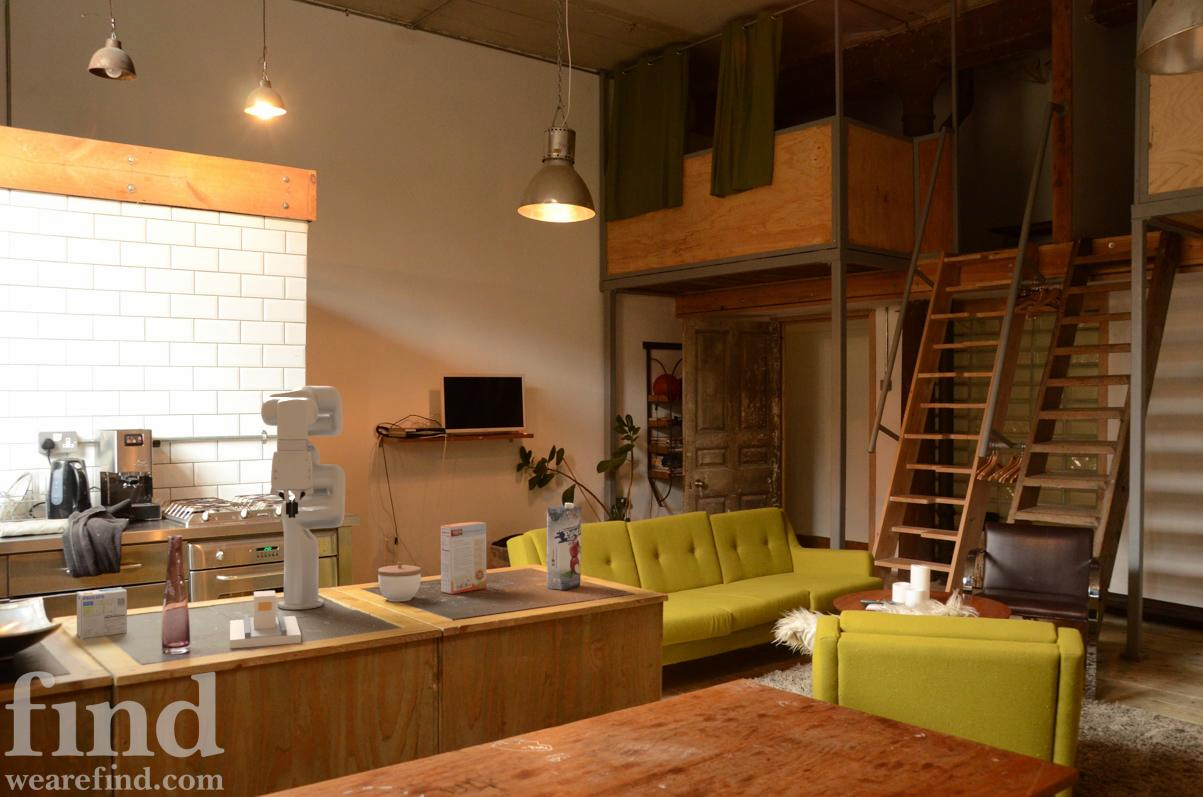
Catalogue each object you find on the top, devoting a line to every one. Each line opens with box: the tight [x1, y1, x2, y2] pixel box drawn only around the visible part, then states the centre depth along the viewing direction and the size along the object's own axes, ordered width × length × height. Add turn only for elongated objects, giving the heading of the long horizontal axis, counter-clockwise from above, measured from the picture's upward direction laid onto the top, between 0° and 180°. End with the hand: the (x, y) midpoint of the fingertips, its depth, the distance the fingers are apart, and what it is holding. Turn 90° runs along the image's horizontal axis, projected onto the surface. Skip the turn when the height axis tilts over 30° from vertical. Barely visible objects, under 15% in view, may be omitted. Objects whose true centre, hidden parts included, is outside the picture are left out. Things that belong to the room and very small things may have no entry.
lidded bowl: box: [377, 561, 422, 603], centre depth 284 cm, size 13×13×11 cm
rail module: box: [253, 589, 277, 630], centre depth 238 cm, size 7×5×8 cm
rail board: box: [229, 611, 302, 649], centre depth 238 cm, size 22×16×3 cm
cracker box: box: [440, 521, 487, 595], centre depth 298 cm, size 14×6×21 cm, turn 136°
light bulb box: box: [76, 586, 128, 639], centre depth 240 cm, size 11×7×11 cm, turn 129°
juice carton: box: [546, 502, 582, 591], centre depth 304 cm, size 9×10×27 cm
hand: (291, 517), depth 247 cm, fingers closed
